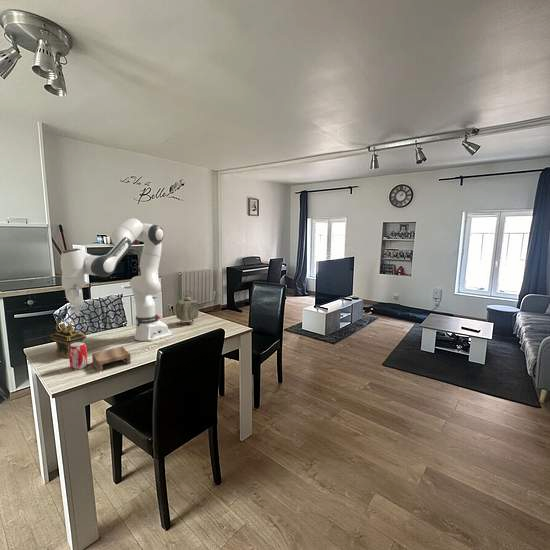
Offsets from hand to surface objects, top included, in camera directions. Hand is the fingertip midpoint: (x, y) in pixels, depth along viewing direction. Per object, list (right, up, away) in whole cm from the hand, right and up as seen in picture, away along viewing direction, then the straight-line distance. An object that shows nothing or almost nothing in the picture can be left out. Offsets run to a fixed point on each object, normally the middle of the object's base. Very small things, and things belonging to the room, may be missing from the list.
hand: (75, 312), depth 136 cm
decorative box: (-18, -25, +20) cm, 37 cm away
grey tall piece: (+31, -19, +76) cm, 84 cm away
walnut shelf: (+12, -27, +9) cm, 31 cm away
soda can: (-1, -28, +4) cm, 28 cm away
